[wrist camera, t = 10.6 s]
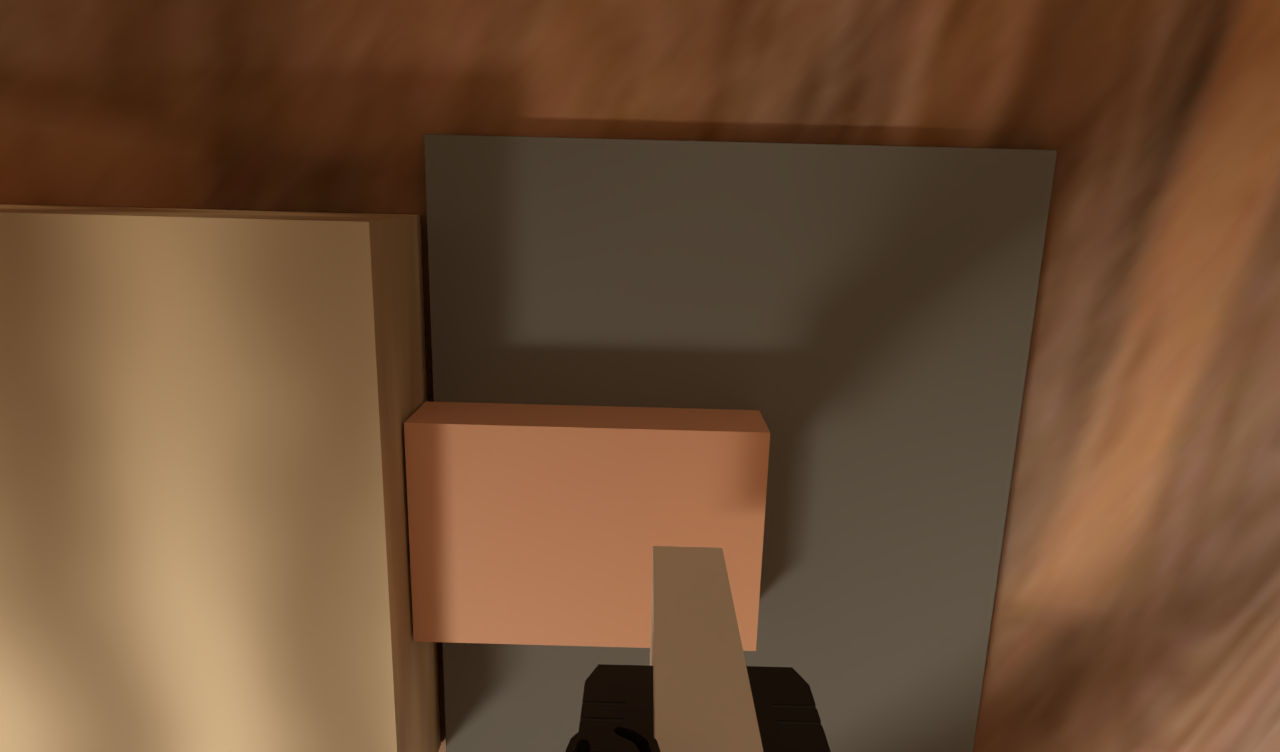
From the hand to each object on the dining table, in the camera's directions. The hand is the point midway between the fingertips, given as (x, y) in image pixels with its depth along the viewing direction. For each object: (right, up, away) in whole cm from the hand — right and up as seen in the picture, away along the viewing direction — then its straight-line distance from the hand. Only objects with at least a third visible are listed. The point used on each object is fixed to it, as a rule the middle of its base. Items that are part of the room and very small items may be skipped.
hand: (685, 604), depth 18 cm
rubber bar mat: (+1, +1, +5) cm, 6 cm away
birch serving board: (-15, +2, +5) cm, 16 cm away
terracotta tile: (-2, +1, +5) cm, 6 cm away
